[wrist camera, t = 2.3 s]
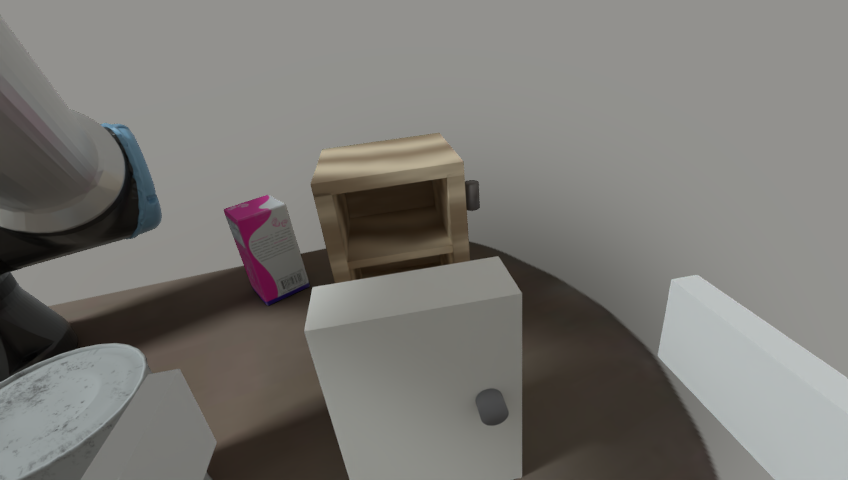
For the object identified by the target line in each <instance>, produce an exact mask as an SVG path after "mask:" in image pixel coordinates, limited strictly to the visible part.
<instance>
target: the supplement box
mask: <svg viewBox="0 0 848 480" xmlns="http://www.w3.org/2000/svg"><path fill="white" fill-rule="evenodd" d="M224 212H225V215H226V218H227V221H228V224H229V226H230V229H231V231H232V234H233V237H234V240H235V242H236V245H237V248H238V250H239V253H240V256H241V258H242V261H243V264H244V267H245V269H246V272H247V275H248V277H249V280H250V283H251V286H252V288H253V289H254V291H255V292H256V293H257V294H258V295H259V296H260V298H261V299H262V300H263V301H264V302H265V303H266V304H267V305H268V306H269V305H271V304H273V303H275V302H277V301H279V300H282V299H284V298H286V297H288V296H290V295H292V294H294V293H297V292H299V291H301V290H303V289H305V288H308V287H310V284H309V281H308V277H307V274H306V271H305V267H304V264H303V260H302V257H301V254H300V251H299V247H298V244H297V241H296V237H295V234H294V231H293V228H292V224H291V221H290V218H289V214H288V210H287V207H286V204H285V203H283V202H281V201H279V200H277V199H275V198H273V197H272V196H270V195H266V196H263V197H260V198H256V199H253V200H251V201H248V202H244V203H241V204H238V205H235V206H232V207H229V208H226V209H224Z"/></svg>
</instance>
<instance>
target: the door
mask: <svg viewBox="0 0 848 480" xmlns="http://www.w3.org/2000/svg"><path fill="white" fill-rule="evenodd" d="M304 333H305V336H306V339H307V342H308V346H309V349H310V352H311V356H312V359H313V362H314V365H315V369H316V372H317V375H318V378H319V382H320V385H321V388H322V391H323V395H324V398H325V401H326V405H327V408H328V411H329V414H330V418H331V421H332V424H333V427H334V431H335V434H336V437H337V440H338V444H339V447H340V450H341V454H342V457H343V460H344V463H345V467H346V470H347V473H348V476H349V480H512V479H517V478H522V292H521V291H520V289H519V288H518V286H517V285H516V283H515V281H514V280H513V278H512V277H511V275H510V274H509V272H508V270H507V269H506V267H505V266H504V264H503V263H502V261H501V259H500V258H499V256H496V257H490V258H484V259H479V260H473V261H467V262H461V263H455V264H449V265H443V266H437V267H431V268H425V269H419V270H413V271H407V272H401V273H395V274H389V275H383V276H377V277H371V278H365V279H359V280H353V281H347V282H341V283H335V284H329V285H323V286H317V287H312V292H311V298H310V303H309V308H308V314H307V319H306V324H305V329H304Z"/></svg>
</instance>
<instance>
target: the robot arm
mask: <svg viewBox="0 0 848 480" xmlns="http://www.w3.org/2000/svg"><path fill="white" fill-rule="evenodd" d="M161 218H162V215H161V208H160V204H159V201H158V198H157V195H156V194H155V188H154V184H153V181H152V178H151V175H150V172H149V170H148V167H147V164H146V162H145V159H144V157H143V154H142V152H141V150H140V147H139V145H138V143H137V141H136V139H135V137H134V135H133V134H132V132H131V131H130V130H129V128H128V127H126V126H124V125H121V124H112V125H111V124H107V123H104V124H99V123H97V122H95V121H94V120H93V119H91V118H89V117H87V116H85V115H84V114H81V113H79V112H76V111H74V110H71V109H69V108H68V106H67V105H66V104H65V102H64V101H63V100H62V98H61V97H60V96H59V94H58V93H57V92H56V90H55V89H54V87H53V86H52V85H51V83H50V82H49V81H48V79H47V78H46V76H45V75H44V74H43V72H42V71H41V70H40V68H39V67H38V66H37V64H36V63H35V62H34V60H33V59H32V57H31V56H30V55H29V53H28V52H27V51H26V49H25V48H24V47H23V45H22V44H21V43H20V41H19V40H18V38H17V37H16V36H15V34H14V33H13V32H12V30H11V29H10V28H9V26H8V25H7V23H6V22H5V21H4V19H3V18H2V17H1V15H0V382H2V381H4V380H5V379H7V378H9V377H11V376H12V375H14V374H16V373H18V372H20V371H22V370H24V369H26V368H28V367H30V366H33V365H35V364H37V363H39V362H41V361H44V360H47V359H49V358H52V357H54V356H57V355H59V354H62V353H65V352H69V351H72V350H75V349H76V347H77V343H78V338H77V336H76V334H75V332H74V331H73V329H72V328H71V326H70V325H69V323H68V322H67V321H66V320H65V319H64V318H63V317H62V316H60V315H59V314H57V313H56V312H55V311H53V310H52V309H50V308H49V307H48V306H46V305H45V304H43V303H42V302H40V301H39V300H38V299H36V298H35V297H33V296H32V295H30V294H29V293H28V292H26V291H25V290H23V289H22V288H21V287H20V286H19V284H18V283H17V282H16V280H15V278H14V277H13V276H12V274H11V273H10V272H11V271H14V270H18V269H21V268H23V267H27V266H31V265H34V264H37V263H41V262H45V261H48V260H51V259H55V258H59V257H62V256H66V255H70V254H73V253H77V252H80V251H83V250H87V249H91V248H94V247H97V246H101V245H105V244H108V243H112V242H116V241H119V240H122V239H131V238H135V237H136V236H138V235H139V234H142V233H144V232H147V231H150V230H152V229H155V228H156V227H157V226H158V225H159V224H160V222H161ZM658 357H659V358H660V359H661V360H662V361H663V363H664V364H665V365H666V366H667V367H668V368H669V369H670V370H671V371H672V372H673V373H674V374H675V375H676V376H677V377H678V378H679V379H680V381H682V383H684V385H685V386H686V387H687V388H688V389H689V390H690V391H691V392H692V393H693V394H694V395H695V396H696V397H697V398H698V400H699V401H700V402H701V403H702V404H703V405H704V406H705V407H706V408H707V409H708V410H709V411H710V412H711V413H712V414H713V415H714V416H715V417H716V419H717V420H718V421H719V422H721V424H722V425H723V426H724V427H725V428H726V429H727V430H728V431H729V432H730V433H731V434H732V435H733V436H734V438H735V439H736V440H737V441H738V442H739V443H740V444H741V445H742V446H743V447H744V448H745V449H746V450H747V451H748V452H749V453H750V454H751V455H752V456H753V458H754V459H755V460H756V461H757V462H758V463H759V464H760V465H761V466H762V467H763V468H764V469H765V470H766V471H767V472H768V473H769V474H770V475H771V477H772V478H773V479H774V480H848V378H847V377H845V376H844V375H842V374H841V373H839V372H838V371H836V370H835V369H833V368H832V367H831V366H829V365H828V364H826V363H825V362H823V361H822V360H820V359H819V358H818V357H816V356H815V355H813V354H812V353H810V352H809V351H807V350H806V349H805V348H803V347H802V346H800V345H799V344H797V343H796V342H794V341H793V340H791V339H790V338H789V337H787V336H785V335H784V334H783V333H781V332H780V331H778V330H777V329H775V328H774V327H772V326H771V325H770V324H768V323H767V322H765V321H764V320H762V319H761V318H760V317H758V316H757V315H755V314H754V313H752V312H751V311H749V310H748V309H746V308H745V307H743V306H742V305H740V304H739V303H738V302H736V301H735V300H733V299H732V298H730V297H729V296H727V295H726V294H725V293H723V292H722V291H720V290H719V289H717V288H716V287H714V286H713V285H712V284H710V283H709V282H707V281H706V280H704V279H703V278H701V277H700V276H698V275H694V276H688V277H683V278H677V279H672V280H671V285H670V290H669V296H668V302H667V306H666V312H665V317H664V324H663V329H662V334H661V340H660V345H659V350H658ZM216 443H217V442H216V440H215V438H214V436H213V434H212V432H211V430H210V428H209V426H208V424H207V422H206V420H205V418H204V416H203V414H202V412H201V410H200V408H199V406H198V404H197V402H196V400H195V398H194V396H193V394H192V392H191V390H190V388H189V386H188V384H187V382H186V381H185V379H184V377H183V375H182V373H181V371H180V369H175V370H170V371H164V372H159V373H153V374H148V375H147V377H146V378H145V380H144V381H143V383H142V385H141V386H140V388H139V389H138V391H137V392H136V394H135V395H134V397H133V399H132V400H131V402H130V403H129V405H128V406H127V408H126V410H125V411H124V413H123V414H122V416H121V417H120V419H119V420H118V422H117V424H116V425H115V427H114V428H113V430H112V431H111V433H110V434H109V436H108V438H107V439H106V441H105V442H104V444H103V445H102V447H101V449H100V450H99V452H98V453H97V455H96V456H95V458H94V459H93V461H92V463H91V464H90V466H89V467H88V469H87V470H86V472H85V473H84V475H83V477H82V478H81V480H203V479H204V477H205V474H206V471H207V468H208V465H209V463H210V460H211V457H212V454H213V451H214V449H215V446H216Z"/></svg>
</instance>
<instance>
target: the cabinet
mask: <svg viewBox="0 0 848 480" xmlns="http://www.w3.org/2000/svg"><path fill="white" fill-rule="evenodd" d="M311 188H312V192H313V196H314V200H315V204H316V208H317V212H318V216H319V220H320V224H321V228H322V232H323V237H324V241H325V245H326V249H327V253H328V257H329V261H330V265H331V269H332V273H333V277H334V281H335V283H341V282H347V281H353V280H359V279H365V278H371V277H377V276H383V275H389V274H395V273H401V272H407V271H413V270H419V269H425V268H431V267H437V266H443V265H449V264H455V263H461V262H467V261H470V254H469V239H468V223H467V210H470V211H473V210H477V209H479V208H480V204H479V203H480V202H479V183H478V181H475V180H469V181H465V179H464V163H463V161H462V159H461V158H460V157H459V156H458V155H457V153H456V152H455V151H454V150H453V149H452V147H451V146H450V145H449V144H448V143H447V142H446V140H445V139H444V138H443V137H442V136H441V134H440V133H435V134H427V135H420V136H413V137H406V138H399V139H392V140H385V141H378V142H371V143H364V144H357V145H350V146H343V147H336V148H329V149H322V152H321V155H320V158H319V161H318V164H317V167H316V170H315V173H314V176H313V179H312V182H311Z"/></svg>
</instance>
